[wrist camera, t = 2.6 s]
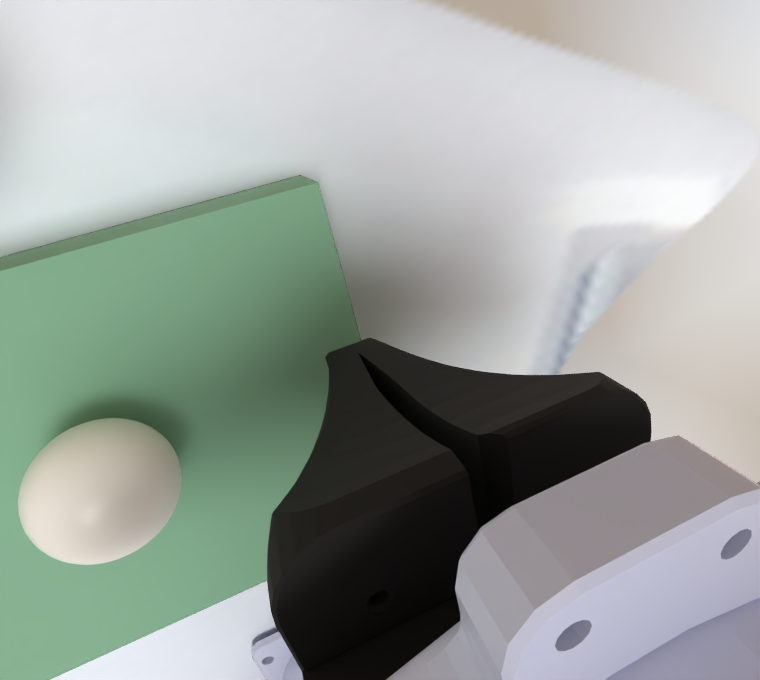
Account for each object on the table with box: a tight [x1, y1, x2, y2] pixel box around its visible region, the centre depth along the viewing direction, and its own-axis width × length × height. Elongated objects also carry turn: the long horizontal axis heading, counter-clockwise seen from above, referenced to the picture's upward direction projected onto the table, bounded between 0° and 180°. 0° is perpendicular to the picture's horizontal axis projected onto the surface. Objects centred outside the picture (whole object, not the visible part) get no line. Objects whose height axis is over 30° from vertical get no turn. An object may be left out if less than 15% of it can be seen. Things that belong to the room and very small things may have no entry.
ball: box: [18, 418, 182, 565], centre depth 10 cm, size 3×3×3 cm
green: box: [0, 175, 361, 680], centre depth 13 cm, size 12×20×2 cm, turn 103°
